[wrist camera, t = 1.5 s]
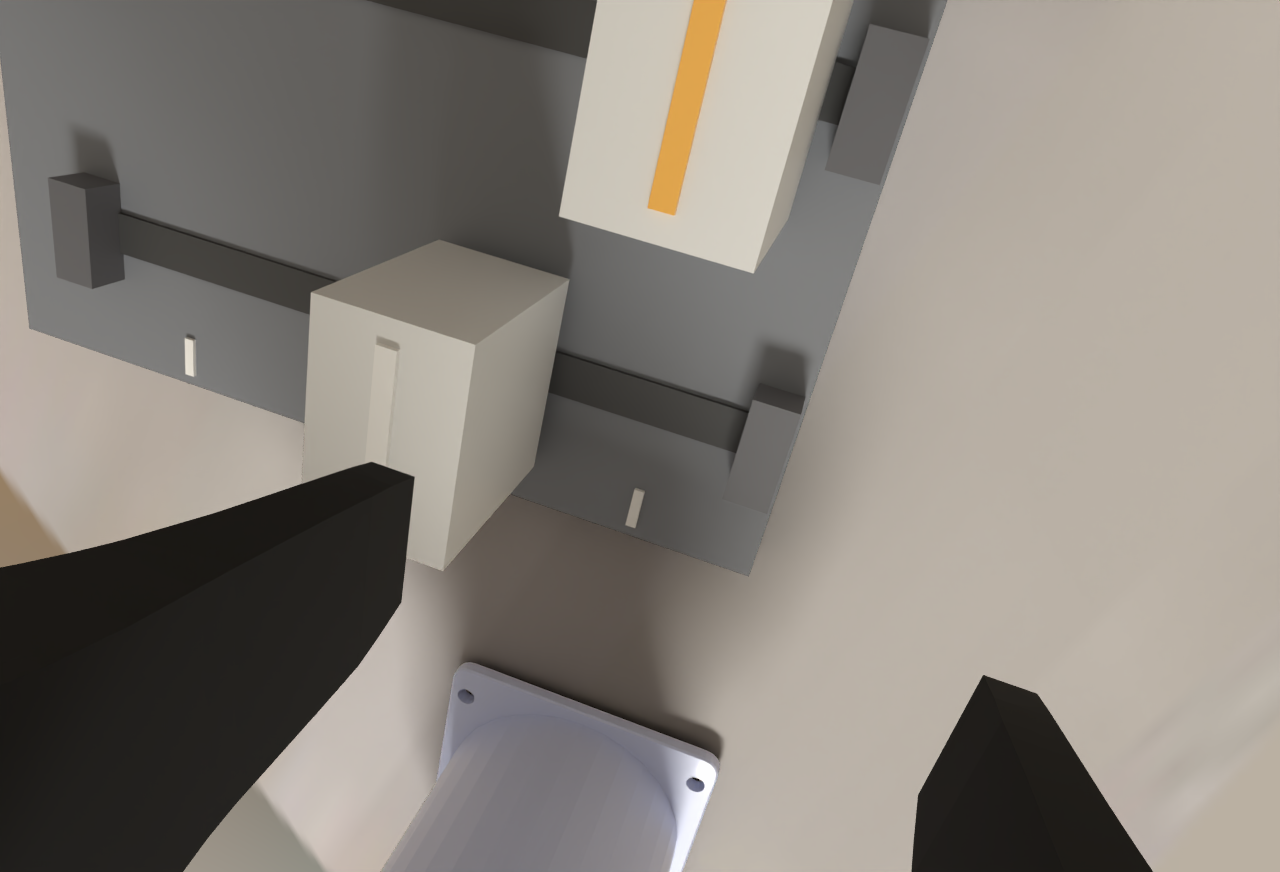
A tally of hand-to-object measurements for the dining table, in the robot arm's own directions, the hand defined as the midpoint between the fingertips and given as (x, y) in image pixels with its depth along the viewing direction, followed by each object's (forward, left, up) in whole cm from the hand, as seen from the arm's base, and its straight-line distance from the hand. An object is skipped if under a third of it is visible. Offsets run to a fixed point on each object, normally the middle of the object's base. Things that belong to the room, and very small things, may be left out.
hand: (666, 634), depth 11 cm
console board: (+2, +9, -10) cm, 14 cm away
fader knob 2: (+6, +2, -8) cm, 10 cm away
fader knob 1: (-1, +6, -8) cm, 10 cm away
